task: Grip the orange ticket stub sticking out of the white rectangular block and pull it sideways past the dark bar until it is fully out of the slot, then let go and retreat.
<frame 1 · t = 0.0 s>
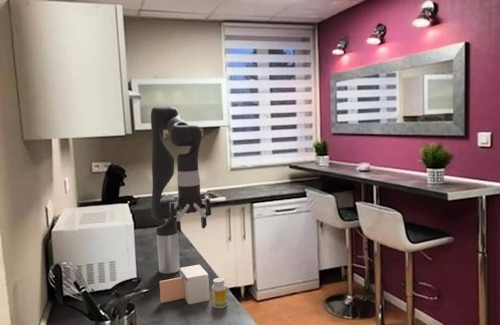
hand: (191, 229, 147), 29 cm above the countertop, tool pointing down, fingers open, 8 cm apart
ticket: (178, 288, 160), point 4 cm above the countertop, slide at 0.0 cm
white rectangular block: (195, 296, 162), on the countertop
supplement bottle: (219, 305, 154), on the countertop
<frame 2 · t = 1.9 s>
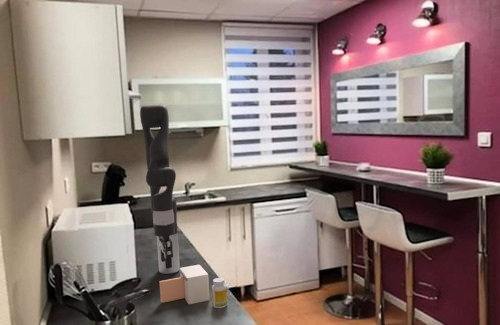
hand: (166, 264, 157), 14 cm above the countertop, tool pointing down, fingers open, 8 cm apart
nothing on the countertop moved.
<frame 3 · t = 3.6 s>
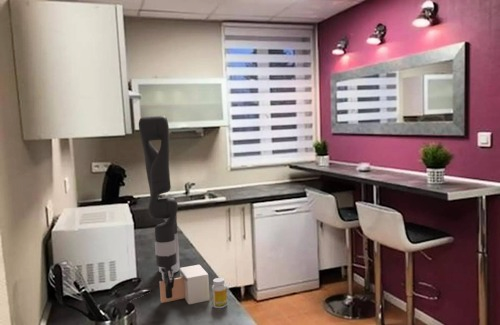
hand: (168, 296, 159), 2 cm above the countertop, tool pointing down, fingers closed
ticket: (178, 288, 160), point 4 cm above the countertop, slide at 0.0 cm, touching gripper
everything else where it was.
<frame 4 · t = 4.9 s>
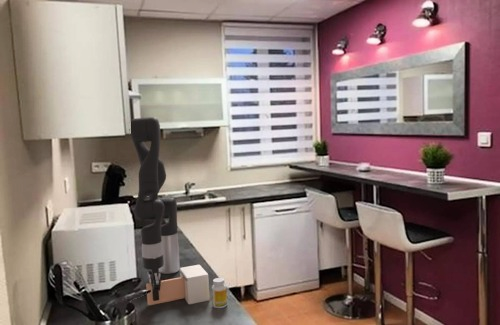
hand: (155, 299, 157), 2 cm above the countertop, tool pointing down, fingers closed
ticket: (166, 290, 158), point 4 cm above the countertop, slide at 4.8 cm, touching gripper
everything else where it was.
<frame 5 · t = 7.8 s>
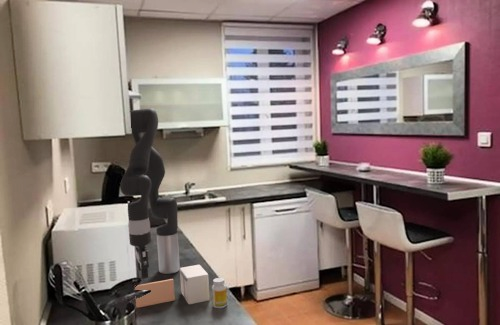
hand: (143, 273, 154), 12 cm above the countertop, tool pointing down, fingers open, 8 cm apart
ticket: (155, 293, 156), point 4 cm above the countertop, slide at 8.9 cm
everything else where it was.
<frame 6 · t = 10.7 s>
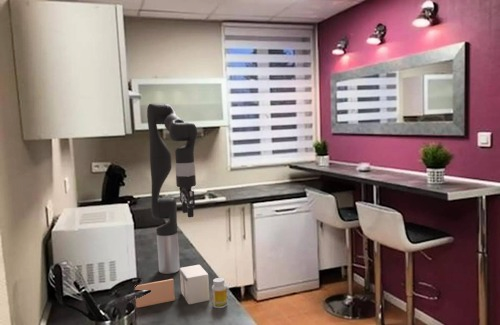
hand: (188, 214, 167), 30 cm above the countertop, tool pointing down, fingers open, 8 cm apart
nothing on the countertop moved.
at the end: ticket slide at 8.9 cm; the gripper is holding nothing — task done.
